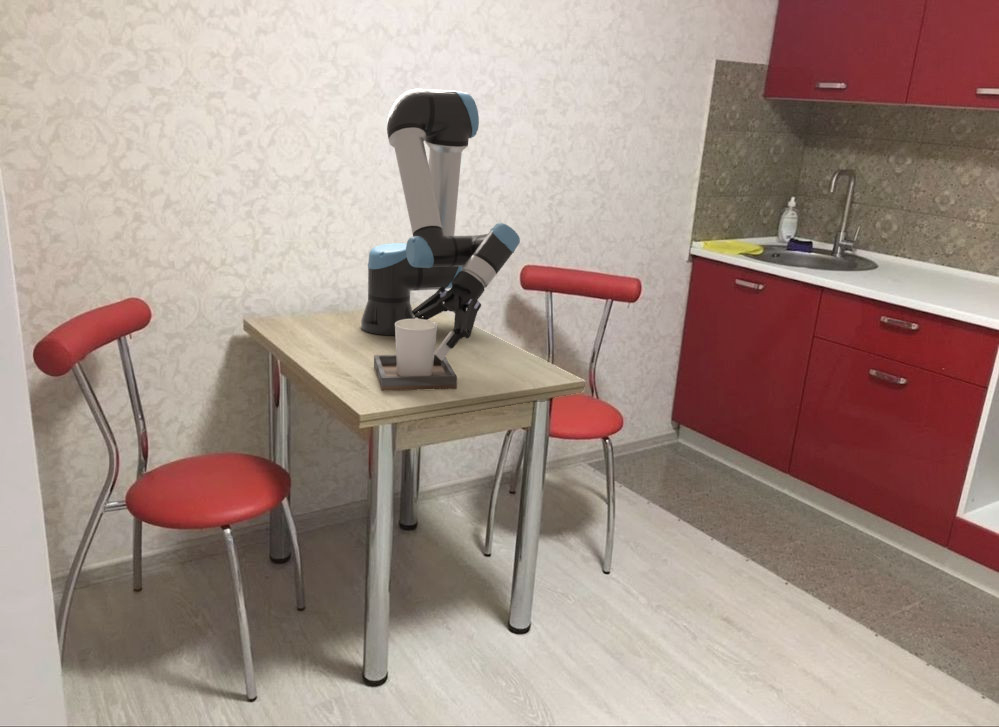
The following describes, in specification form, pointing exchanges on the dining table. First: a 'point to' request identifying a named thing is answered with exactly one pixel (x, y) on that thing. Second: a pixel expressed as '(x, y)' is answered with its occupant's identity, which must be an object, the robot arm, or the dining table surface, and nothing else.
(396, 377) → the socket base
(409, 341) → the candle holder
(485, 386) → the dining table surface
